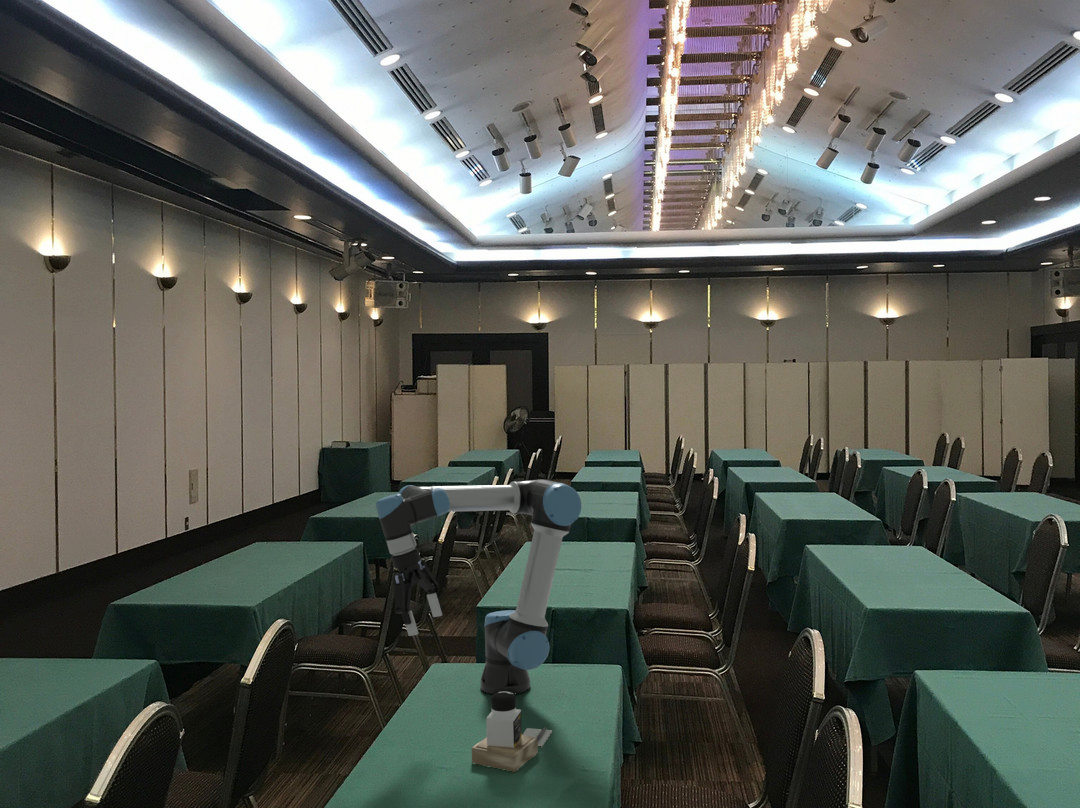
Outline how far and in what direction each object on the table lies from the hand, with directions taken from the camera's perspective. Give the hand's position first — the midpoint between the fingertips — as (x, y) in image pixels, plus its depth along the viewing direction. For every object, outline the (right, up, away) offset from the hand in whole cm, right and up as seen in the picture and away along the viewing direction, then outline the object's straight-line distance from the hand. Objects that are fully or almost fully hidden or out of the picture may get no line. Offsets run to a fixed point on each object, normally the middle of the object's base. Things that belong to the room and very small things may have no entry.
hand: (426, 625), depth 248 cm
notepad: (+30, -28, -10) cm, 42 cm away
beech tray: (+22, -28, -22) cm, 42 cm away
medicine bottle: (+22, -24, -22) cm, 39 cm away
